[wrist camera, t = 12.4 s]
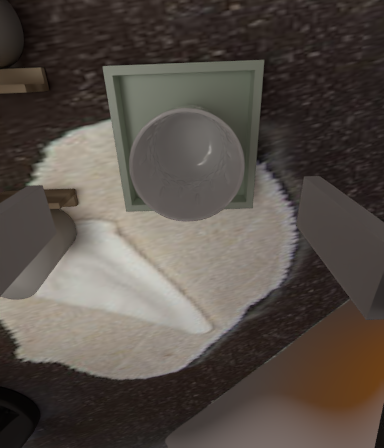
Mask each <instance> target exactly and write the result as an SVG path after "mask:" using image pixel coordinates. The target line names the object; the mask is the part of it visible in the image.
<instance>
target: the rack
mask: <svg viewBox="0 0 384 448" xmlns="http://www.w3.org/2000/svg"><path fill="white" fill-rule="evenodd" d="M38 91H50V90H49V86H48V82H47V79H46V75H45V71H44V68H15V69H0V93H23V92H38ZM19 191H20V190H18V191H4V192H2V193H1V194H0V203H1V202H3V201H4V200H6V199H7V198H9V197H11V196H12V195H14V194H15V193H17V192H19ZM44 192H45V195H46V199H47V202H48V205H49V209H60V208H61V207H71V206H77V205H78V201H77V197H76V193H75V189H52V190H44Z"/></svg>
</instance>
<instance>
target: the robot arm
mask: <svg viewBox="0 0 384 448" xmlns="http://www.w3.org/2000/svg"><path fill="white" fill-rule="evenodd" d="M296 226H297V227H298V229H299V230H300V231H301V233H302V234H303V235H304V237H305V238H306V239H307V241H308V242H309V243H310V245H311V246H312V247H313V249H314V250H315V252H316V253H317V254H318V256H319V257H320V258H321V260H322V261H323V262H324V264H325V265H326V266H327V268H328V269H329V270H330V272H331V273H332V274H333V276H334V277H335V278H336V280H337V281H338V283H339V284H340V285H341V287H342V288H343V289H344V291H345V292H346V293H347V295H348V296H349V297H350V299H351V300H352V301H353V303H354V304H355V305H356V307H357V308H358V309H359V311H360V312H361V313H362V315H363V316H364V317H365V319H366V320H374V319H384V220H383V219H381V218H379V217H376V216H374V215H373V214H372V213H370V212H369V211H368V210H366V209H365V208H363V207H362V206H361V205H359V204H358V203H356V202H355V201H354V200H352V199H351V198H349V197H348V196H347V195H345V194H344V193H342V192H341V191H340V190H338V189H337V188H336V187H334V186H333V185H331V184H330V183H329V182H327V181H326V180H324V179H323V178H322V177H320V176H304V180H303V186H302V192H301V199H300V205H299V211H298V217H297V223H296ZM56 234H57V232H56V228H55V225H54V222H53V218H52V215H51V212H50V209H49V205H48V202H47V199H46V195H45V192H44V189H43V185H39V186H26V187H25V188H23V189H22V190H20V191H19V192H17V193H15V194H14V195H12V196H11V197H9V198H7V199H6V200H4V201H3V202H1V203H0V296H1V295H2V294H3V293H4V292H5V291H6V290H7V288H8V287H9V286H10V285H11V284H12V283H13V282H14V281H15V279H16V278H17V277H18V276H19V275H20V274H21V273H22V272H23V270H24V269H25V268H26V267H27V266H28V265H29V264H30V263H31V262H32V260H33V259H34V258H35V257H36V256H37V255H38V254H39V253H40V251H41V250H42V249H43V248H44V247H45V246H46V245H47V244H48V242H49V241H50V240H51V239H52V238H53V237H54V236H55V235H56ZM39 419H40V412H39V410H38V408H37V407H36V405H35V404H34V403H33V402H31V401H30V400H29V399H27V398H26V397H24V396H22V395H20V394H18V393H16V392H13V391H11V390H7V389H4V388H0V448H22V446H23V445H24V444H25V442H26V441H27V440H28V438H29V437H30V436H31V435H32V434H33V432H34V430H35V428H36V426H37V424H38V421H39ZM375 448H384V405H383V410H382V414H381V419H380V424H379V429H378V434H377V439H376V443H375Z"/></svg>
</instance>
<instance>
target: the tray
mask: <svg viewBox="0 0 384 448" xmlns="http://www.w3.org/2000/svg"><path fill="white" fill-rule="evenodd" d="M263 70H264V60H248V61H223V62H198V63H173V64H148V65H122V66H103V72H104V78H105V84H106V90H107V96H108V103H109V109H110V115H111V121H112V127H113V133H114V139H115V145H116V151H117V158H118V164H119V170H120V176H121V182H122V188H123V194H124V200H125V206H126V212H129V211H153V210H152V209H151V208H150V207H148V206H147V205H146V204H145V203H144V202H143V200H142V199H141V198H140V197H139V195H138V194H137V192H136V190H135V188H134V186H133V183H132V180H131V176H130V171H129V157H130V152H131V148H132V145H133V142H134V140H135V138H136V136H137V135H138V133H139V132H140V130H141V129H142V128H143V127H144V126H145V125H146V124H147V123H148V122H149V121H150V120H151V119H153V118H154V117H156V116H158V115H159V114H161V113H163V112H165V111H167V110H169V109H171V108H174V107H177V106H182V105H195V106H200V107H202V108H205V109H207V110H209V111H211V112H212V113H214V114H215V115H216V116H218V117H219V118H220V119H221V120H223V121H224V122H225V123H226V124H227V125H228V126H229V127H230V128H231V129H232V130H233V132H234V133H235V135H236V136H237V138H238V140H239V142H240V144H241V147H242V150H243V154H244V161H245V169H244V176H243V181H242V184H241V186H240V189H239V191H238V193H237V194H236V196H235V197H234V199H233V200H232V201H231V202H230V203H229V204H228V205H227V206H226V207H225V208H224V209H240V208H253V197H254V185H255V172H256V159H257V147H258V134H259V121H260V108H261V96H262V83H263Z"/></svg>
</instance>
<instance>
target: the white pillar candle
mask: <svg viewBox="0 0 384 448" xmlns="http://www.w3.org/2000/svg"><path fill="white" fill-rule="evenodd" d="M23 46H24V34H23V29H22V25H21V22H20V20H19V17H18V15H17V14H16V12H15V10H14V9H13V7H12V6H11V4H10V3H9V2H8V1H7V0H0V68H6V67H9V66H11V65H13V64H14V63H15V62H16V61H17V60H18V59H19V57H20V56H21V53H22V51H23Z"/></svg>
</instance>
